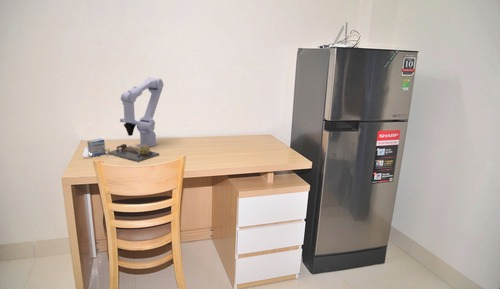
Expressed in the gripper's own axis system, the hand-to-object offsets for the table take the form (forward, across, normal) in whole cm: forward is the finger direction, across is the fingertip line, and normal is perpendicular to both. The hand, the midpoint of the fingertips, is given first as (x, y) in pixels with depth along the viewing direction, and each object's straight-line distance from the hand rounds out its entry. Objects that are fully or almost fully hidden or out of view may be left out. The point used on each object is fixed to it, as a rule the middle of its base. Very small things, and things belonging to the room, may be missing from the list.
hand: (130, 135), depth 194 cm
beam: (+9, +7, -4) cm, 12 cm away
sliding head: (+9, +14, -3) cm, 17 cm away
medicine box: (+10, -10, -16) cm, 21 cm away
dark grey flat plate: (+10, +6, -4) cm, 12 cm away
